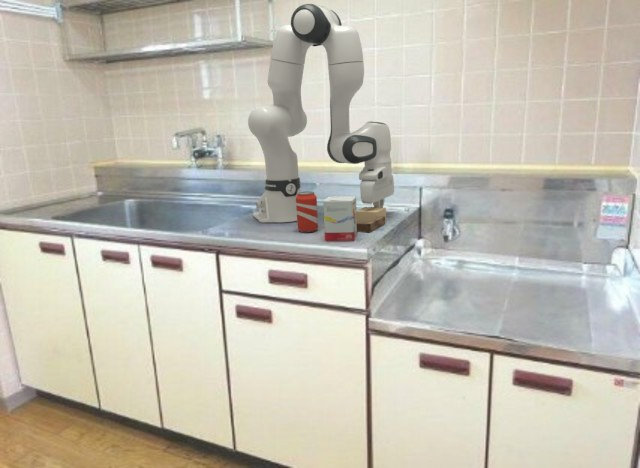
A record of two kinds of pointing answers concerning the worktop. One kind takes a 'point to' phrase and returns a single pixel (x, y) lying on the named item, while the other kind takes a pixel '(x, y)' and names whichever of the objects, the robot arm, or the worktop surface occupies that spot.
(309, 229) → the beverage can
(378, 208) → the carton
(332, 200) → the ink box
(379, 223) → the brown u-shaped frame
